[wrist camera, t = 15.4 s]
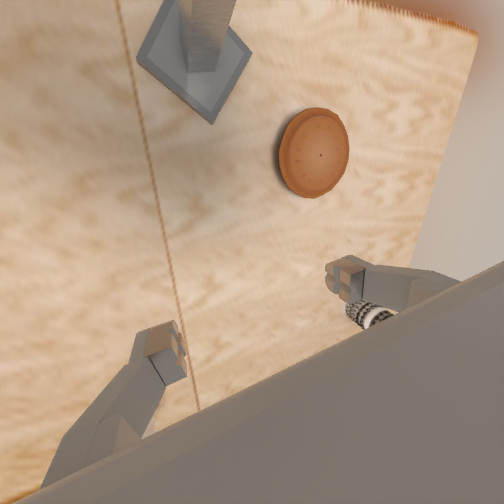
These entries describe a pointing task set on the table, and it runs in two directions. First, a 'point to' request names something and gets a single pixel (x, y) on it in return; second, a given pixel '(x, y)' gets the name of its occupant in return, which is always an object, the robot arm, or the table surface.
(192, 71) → the knob-topped square pillar
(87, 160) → the table surface
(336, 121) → the pie
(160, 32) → the rest tile
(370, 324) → the decorative candle
